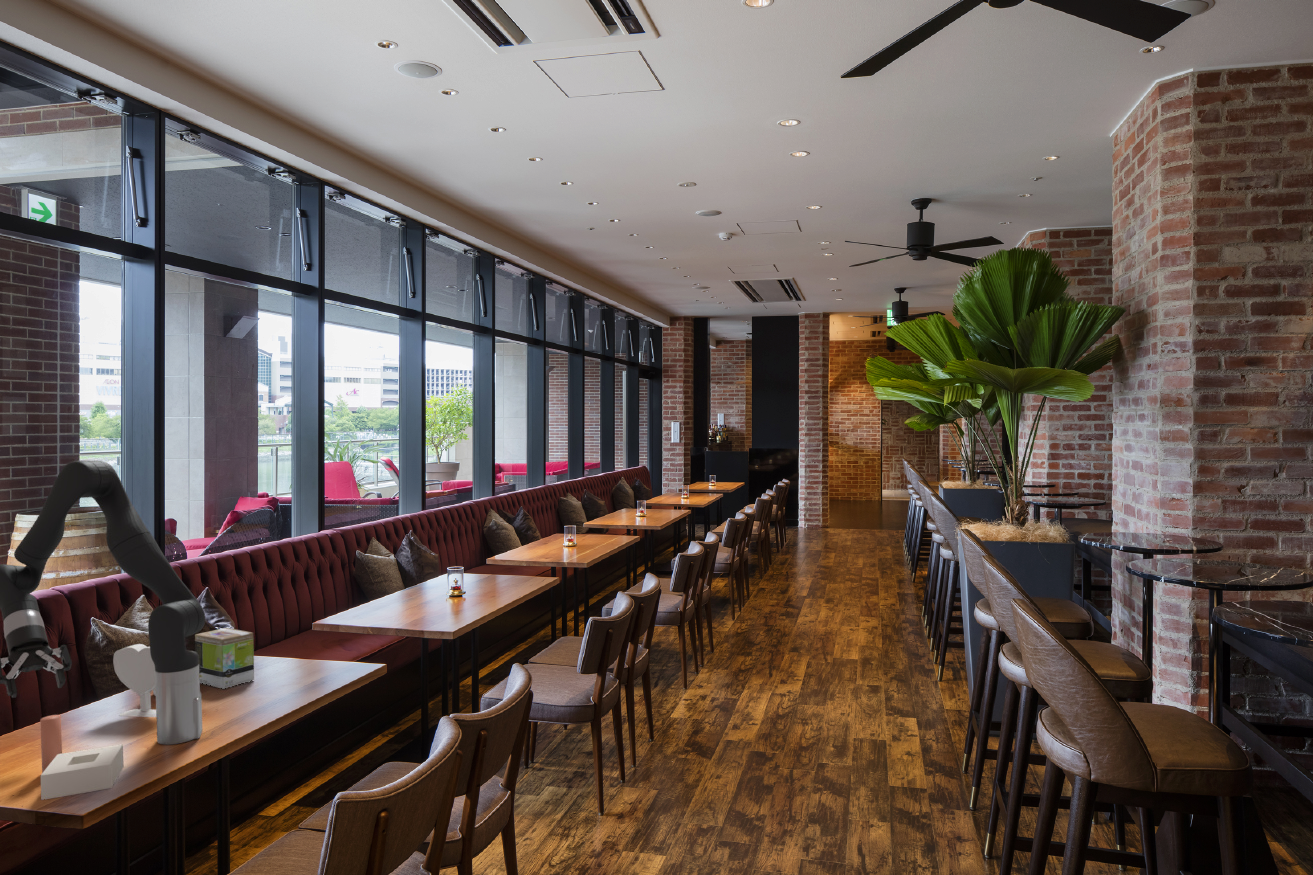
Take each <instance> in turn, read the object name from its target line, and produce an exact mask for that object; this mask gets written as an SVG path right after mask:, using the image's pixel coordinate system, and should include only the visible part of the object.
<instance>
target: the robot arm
mask: <svg viewBox="0 0 1313 875" xmlns="http://www.w3.org/2000/svg"><path fill="white" fill-rule="evenodd" d="M83 498H84V499H85V498H92V499H93V500H94V501H95V503H96V504H97V505H98V506H99V509H100V510H101V511H102V514H103V515H104V518H105V520H106V521H105V522H106V532H105V536H106V544H107V548H108V550H109V552H110V554H111V555H112V557H113V559H114V560H115V561H116V563H117V564H118V566H119V567H120V568H121V570H122V571H123V572H124V573H125V574H127V575H128V576H130V578H132V579H134V580H135V581H137V582H138V583H141V584H142V585H143V586H145V587H147V589H149V590H151V591H152V592H153V593H154V595H156V597H157V598H158V599H159V600H160V602H161V603H162V604H161V605H158V606H156V607H155V608H154V609H153V610H152V612H151V613H150V615H149V618H148V625H147V629H148V641H149V646H150V654H151V658H152V660H153V662H154V665H155V687H156V696H155V710H156V717H155V719H156V736H157V737H156V738H157V739H156V740H157V741H156V742H157V743H158V744H159V745H177V744H181V743H186V742H189V741H192V740H196V739H200V738H201V735H202V732H203V707H202V705H203V702H202V692H201V687H200V685H201V683H200V680H199V656H198V653H197V652H195V651H193V650H189V649H187V647H186V640H185V639H186V638H187V637H190V636H192V635H195V634H198V633H199V632H201V630H202V629H203V628H204V626H205V623H206V613H205V610H204V608H203V605H201V603H200V601H198V598H197V597H195V595H194V594H193V593H192V591H191V590H190V589H189V588H188V586H187V585H186V584H185V583H184V582H183V580H182V579H181V578H180V577H179V576H178V573H177V572H176V571H175V569H174V568H173V566H172V565H171V563H170V562H169V560H168V559H167V558H166V556H165V555H164V552H162V550H161V548H160V546H159V544H158V543H157V540H156V539H155V538H154V536H153V535H152V533H151V531H150V530H149V528H147V526H146V524H145V523H144V522H143V520H142V518H141V517H140V515H139V513H138V511H137V510H136V508H135V506H134V504H133V503H132V501H131V500H130V497H129V496H128V493H127V491H126V490H125V488H124V485H123V483H122V481H121V479H120V477H119V475H118V473H117V471H116V470H115V469H114V467H113V466H112V465H111V464H110V463H108V462H105V461H102V460H74V461H70V462H68V463H66V464H65V465H64V466H63V467H62V468H61V470H60V471H59V473H58V475H57V477H56V479H55V480H54V483H53V485H52V487H51V489H50V492H49V494H48V495H47V497H46V499H45V502H44V504H43V505H42V508H41V510H40V512H39V514H38V516H37V518H36V520H35V521H34V523H33V524H32V526H31V527H30V529H29V530H28V531H27V533H26V534H25V535H24V537H23V539H22V540H21V541H20V542H19V544H18V546H17V547H16V548H15V550H14V553H13V556H14V558H15V560H16V561H17V562H19V563H20V564H22V565H25V566H22V565H14V564H4V563H3V564H0V613H1V617H2V621H3V633H4V634H3V636H4V639H5V643H6V648H7V652H8V656H7V657H2V658H1V657H0V684H1V685H2V684H3V685H4V686H5V688H6V694H7V695H8V697H11V698H16V697H17V695H18V690H17V685H16V680H15V679H16V678H17V677H18V676H19V674H21V672H24V673H29V672H32V671H40V670H42V669H44V670H46V671H47V672H52V673H53V674H54V678H55V680H56V681H55V682H56V685H57V688H58V689H61V688H63V686H64V685H65V684H66V683H65V682H66V680H67V679H66V675H65V672H66V671H70V670H71V668H72V664H73V661H72V658H71V655H70V652H69V649H68V646H67V645H66V644H61V645H60V647H56V648H51V647H50V643H49V640H48V635H47V633H46V628H45V623H44V620H43V617H42V616H41V613H40V608H39V605H38V600H37V599H36V596H34V595H33V594H32V593H33V592H34V591H37V589H38V588H39V586H40V584H41V579H42V576H43V573H44V570H45V568H46V565H47V562H48V560H49V558H51V556H52V555H53V553H54V552H55V550H56V549H57V548H58V546H59V545H60V543H61V542H62V540H63V537H64V535H65V525H66V518H67V515H68V513H69V512H70V510H71V509H72V508H73V506H74V505H75V504H76V503H77V502H79V500H80V499H83ZM53 655H55V656H56V657H57V658H60V661H61V663H60V662H58V661H57V660H56V659H55V658H53ZM6 664H8V665H9V666H11V669H10V671H9V672H8V673H7V674H6V675H3V670H2V669H3V668H4V667H5V666H6Z"/></svg>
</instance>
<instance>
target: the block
mask: <svg viewBox="0 0 1313 875" xmlns="http://www.w3.org/2000/svg"><path fill="white" fill-rule="evenodd" d="M123 768H124V744H121V743H120V744H115V745H110V746H103V747H95V748H89V749H84V750H77V751H70V752H64V753H63V752H62V754H57V756H56V757H55V758H54V759H53V761H52V762H51V763H50V764H49V766H48V767H47V768H46V769H45V771H44V772H43V773H42V772H41V774H40V795H41V796H40V798H41V801H43V800H44V799H45V800H48V799H56V798H61V797H67V796H72V795H79V794H84V793H90V792H96V791H97V792H98V791H102V790H108V789H112V788H113V786H114V785H115V783H116V781H117V780H118V778H119V775H120V774H121V773H122V771H123Z"/></svg>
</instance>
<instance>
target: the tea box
mask: <svg viewBox="0 0 1313 875" xmlns="http://www.w3.org/2000/svg"><path fill="white" fill-rule="evenodd" d="M194 645H195V646H194V648H195V649H194V650H195V651H194V652H197V653H198V656H199V680H200V684H202V683H203V685H206V684H207V685H206V686H210V685H211V686H210V687H214V688H217V689H218V688H219V689H221V688H222V690H225V688H226V689H229V688H228V687H230V688H233V687H232V686H234V685H237V684H241V683H244V682H248V683H250V682H249V681H251V680H254V681H255V654H254V652H255V651H254V650H255V649H254V632H251V631H246V630H240V629H235V628H228V627H224V628H220V629H219V628H218V629H215V630H210V631H209V630H208V631H206V632H200V633H195V634H194ZM251 682H252V681H251ZM244 684H245V683H244ZM241 685H242V684H241ZM237 686H238V685H237ZM234 687H235V686H234Z"/></svg>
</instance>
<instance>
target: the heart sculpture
mask: <svg viewBox="0 0 1313 875" xmlns="http://www.w3.org/2000/svg"><path fill="white" fill-rule="evenodd" d="M112 660H113V661H112V662H113V668H114V669H113V670H114V672H115V674H116V675H117V678H118V679H119V681H120V682H121V683H122V684H124V685H125V686H126V688H128V689H129V690H130V691H132V692H134V693H136V694H137V695H138V696H139V707H140V708H134V709H130V710H126V711H123V712H124V713H123V712H121V713H122V714H121V713H120V714H119V715H118V716H119V717H139V718H142V717H143V718H144V717H145V718H156V708H155V709H152V701H151V696H152V695H151V693H152V692H153V689H155V688H156V687H155V665H154V662H153V660H152V658H151V654H150V645H149V646H147V645H145V644H143V643H136V644H132V645H129V646H125V647H123V648H121V649H118V650H116V651H115V652H114V653H113V658H112Z"/></svg>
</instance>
